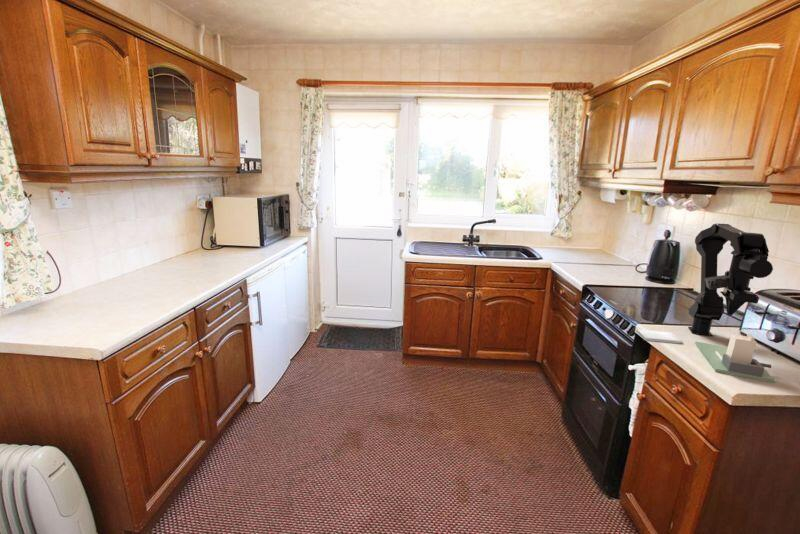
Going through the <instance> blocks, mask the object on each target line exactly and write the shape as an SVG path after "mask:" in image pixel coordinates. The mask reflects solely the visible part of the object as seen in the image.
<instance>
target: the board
mask: <svg viewBox="0 0 800 534" xmlns="http://www.w3.org/2000/svg"><path fill="white" fill-rule="evenodd" d="M695 344H696V345H695ZM694 345H695V347H697V349H698V350H699V352H700V353H701V354H702V356H703V357H704V359H705V360H706V361H707V362H708V364H709V365H710V367H712V369H713V371H715V373H721V374H726V375H732V376H737V377H742V378H748V379H752V380H753V379H754V380H758V381H764V382H769V383H775V381H776V379H775V378H774V377H773V376H772V375H771V374H770V373H769V372H768V371H767V370H766V369H765V368H764V372H763V375H762V377H758V376H753V375H748V374H742V373H737V372H731V371H728V370H727V369H726V368H725V366H724V365H723V364H722V363H721V362H722V358H723V354H726V352H727V348H728V346H725V345H719V344H714V343H707V342H701V341H695V342H694ZM752 359H755V358H754V356H753V357H752Z"/></svg>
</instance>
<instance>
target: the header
mask: <svg viewBox="0 0 800 534" xmlns="http://www.w3.org/2000/svg"><path fill="white" fill-rule="evenodd" d="M721 363H722V364H723V365H724V366H725V368H726V369H727V370H728V371H731V372H737V373H742V374H748V375H753V376H758V377H762V375H763V372H764V369H765V367H763V366H762V365H761V364H760V363H761V362H759V361H758V360H757V359H756V358H754V359H752V361H751V364H746V363H740V362H735V361H733V360H732V359H731V358H730V357H729V356H728V355H727V354H723V358H722V362H721Z"/></svg>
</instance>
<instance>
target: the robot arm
mask: <svg viewBox="0 0 800 534" xmlns="http://www.w3.org/2000/svg"><path fill="white" fill-rule="evenodd" d="M728 241H729V242H730V244H729V245H730V246H731V248H732V249H733V250H732V251H731V252H730V254H731V255H732V257H731V262H730V267H729V270H726V271H724V275H718V256H719V254H720V253H721V252H722V250H723V249H724V246H725V244H726V243H728ZM694 243H695V248H696V251H697V252H698V253H699V255H700V257H701V258H700V259H701V261H700V265H701V267H700V293H699V294H698V295H697V296H696V297H695V300H694V303H693V304H692V305H691V306H690V307H689V308H688V315H690V316H691V317H692V318H693V319H692V323H691V326H688V327H687V328H688V330H689V331H690V332H691V333H692V334H696V335H703V336H706V337H707V336H709V337H713V336H714V334H712V332H711V328H712V325H713V321H720V320H721V318H722V316H723V315H724V312H725V307H724V300H725V306H726V314H727V316H732V315H734V314H735V313H736V312H737V311H738V310H739V309H740V308H741V307H742V306H744V304H745V303H747V304H749V303H750V304H756V305H757V304H759V300H760V297H759V296H758V295H757V294H756V293H754V292H753V291H751V287H749V286H750V283H751V280H754V279H755V278H759V279H763V278H766V277H769V276H770V275H771V274H772V273H773V271H774V268H773V263H771V262H770V261H769V260H768V258H769V253H770V251H769V247H768V245H767V240H766V237H765V235H764V234H763V233H756V232H746V231H743V230H741V229H738V228H736V227H735V226H732V225H731V224H729V223H714V224H712V225H711V226H710V227H707V228H705V229H703V230H701V231H700V232H699V233H698V234H696V237H695V239H694ZM718 289H723V291H720V292H719V293H721V295H722V296H720V295H719V293H718ZM724 298H725V299H724Z"/></svg>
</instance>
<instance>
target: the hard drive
mask: <svg viewBox="0 0 800 534" xmlns="http://www.w3.org/2000/svg"><path fill="white" fill-rule="evenodd" d="M635 333H637V334H638V335H639V336H640V337H641V338H642V339H643V340H644V341H648V342H649V341H650V342H660V343H669V344H678V343H682V344H683V341H682V339H680V338H679V337H678V336H677V335H675V333H673V332H668V331H667V332H666V331H656V330H646V329H637V328H636V329H635Z"/></svg>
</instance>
